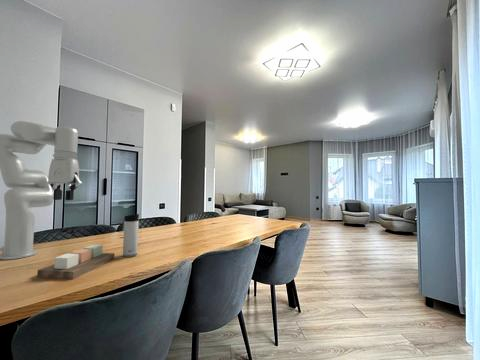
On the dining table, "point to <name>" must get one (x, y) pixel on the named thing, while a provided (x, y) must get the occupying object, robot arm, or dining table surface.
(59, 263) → the cream key
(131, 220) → the travel mug
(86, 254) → the terracotta key
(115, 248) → the dining table surface
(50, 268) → the walnut panel
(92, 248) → the sage key
